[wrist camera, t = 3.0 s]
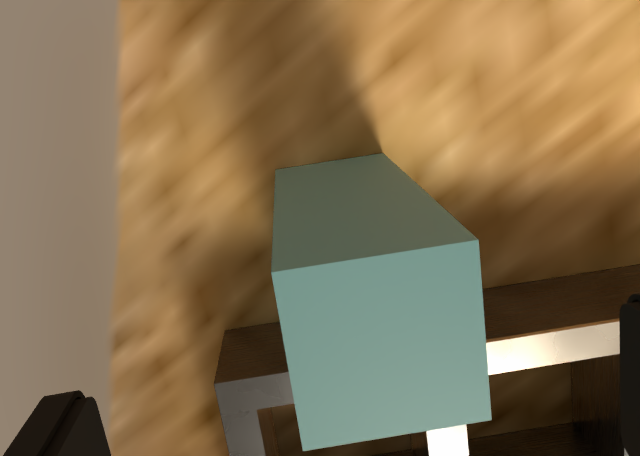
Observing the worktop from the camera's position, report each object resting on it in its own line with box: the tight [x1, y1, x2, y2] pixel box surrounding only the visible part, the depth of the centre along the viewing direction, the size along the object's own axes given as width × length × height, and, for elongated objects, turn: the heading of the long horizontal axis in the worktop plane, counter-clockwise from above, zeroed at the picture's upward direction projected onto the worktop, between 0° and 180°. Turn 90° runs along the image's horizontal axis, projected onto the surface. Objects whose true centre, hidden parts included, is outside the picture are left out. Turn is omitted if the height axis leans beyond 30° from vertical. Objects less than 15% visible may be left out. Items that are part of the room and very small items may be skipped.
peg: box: [271, 153, 492, 451], centre depth 17 cm, size 4×4×11 cm
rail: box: [214, 264, 640, 456], centre depth 23 cm, size 8×22×4 cm, turn 98°
